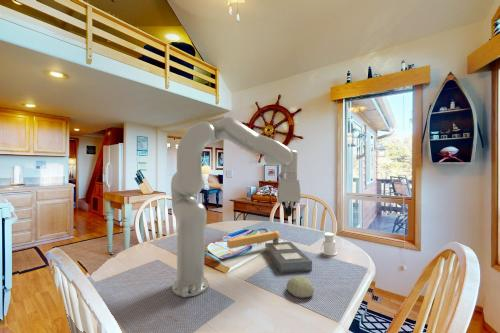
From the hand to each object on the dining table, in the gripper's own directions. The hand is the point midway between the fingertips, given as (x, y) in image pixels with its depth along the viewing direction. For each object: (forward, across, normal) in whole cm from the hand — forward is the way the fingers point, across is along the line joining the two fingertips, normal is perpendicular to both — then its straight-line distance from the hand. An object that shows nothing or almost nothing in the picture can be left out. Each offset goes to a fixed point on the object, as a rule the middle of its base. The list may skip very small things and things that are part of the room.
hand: (288, 215), depth 103 cm
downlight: (+22, +25, +6) cm, 33 cm away
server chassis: (+21, 0, +4) cm, 22 cm away
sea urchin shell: (+22, -4, -25) cm, 33 cm away
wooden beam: (+16, -13, +13) cm, 24 cm away
